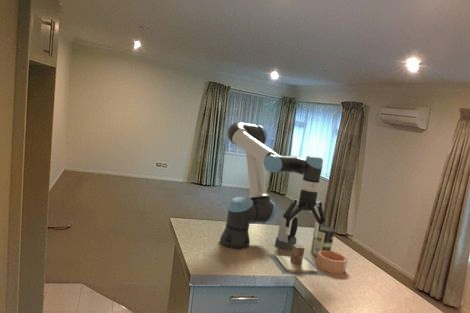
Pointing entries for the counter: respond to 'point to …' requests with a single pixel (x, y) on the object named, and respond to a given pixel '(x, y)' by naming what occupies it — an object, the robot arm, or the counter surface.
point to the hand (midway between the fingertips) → (301, 235)
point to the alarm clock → (283, 238)
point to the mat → (295, 272)
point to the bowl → (331, 261)
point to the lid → (296, 261)
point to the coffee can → (322, 240)
